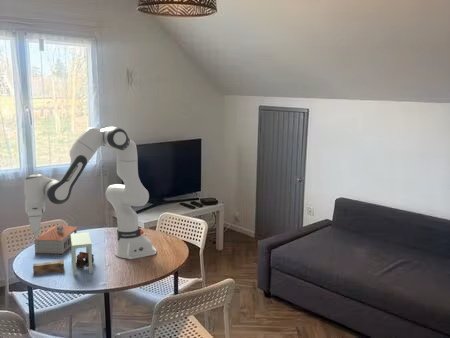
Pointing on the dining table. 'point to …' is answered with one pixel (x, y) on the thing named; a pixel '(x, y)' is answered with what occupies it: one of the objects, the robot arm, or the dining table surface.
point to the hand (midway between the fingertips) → (36, 235)
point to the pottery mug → (81, 261)
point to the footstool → (79, 242)
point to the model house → (55, 240)
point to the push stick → (48, 267)
